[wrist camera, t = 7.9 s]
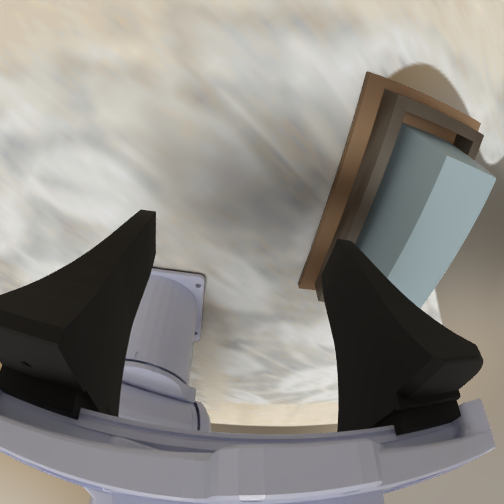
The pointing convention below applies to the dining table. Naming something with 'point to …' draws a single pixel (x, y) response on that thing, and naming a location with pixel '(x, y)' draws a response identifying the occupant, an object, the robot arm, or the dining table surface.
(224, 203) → the dining table surface
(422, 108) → the cradle
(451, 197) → the pale blue bar
